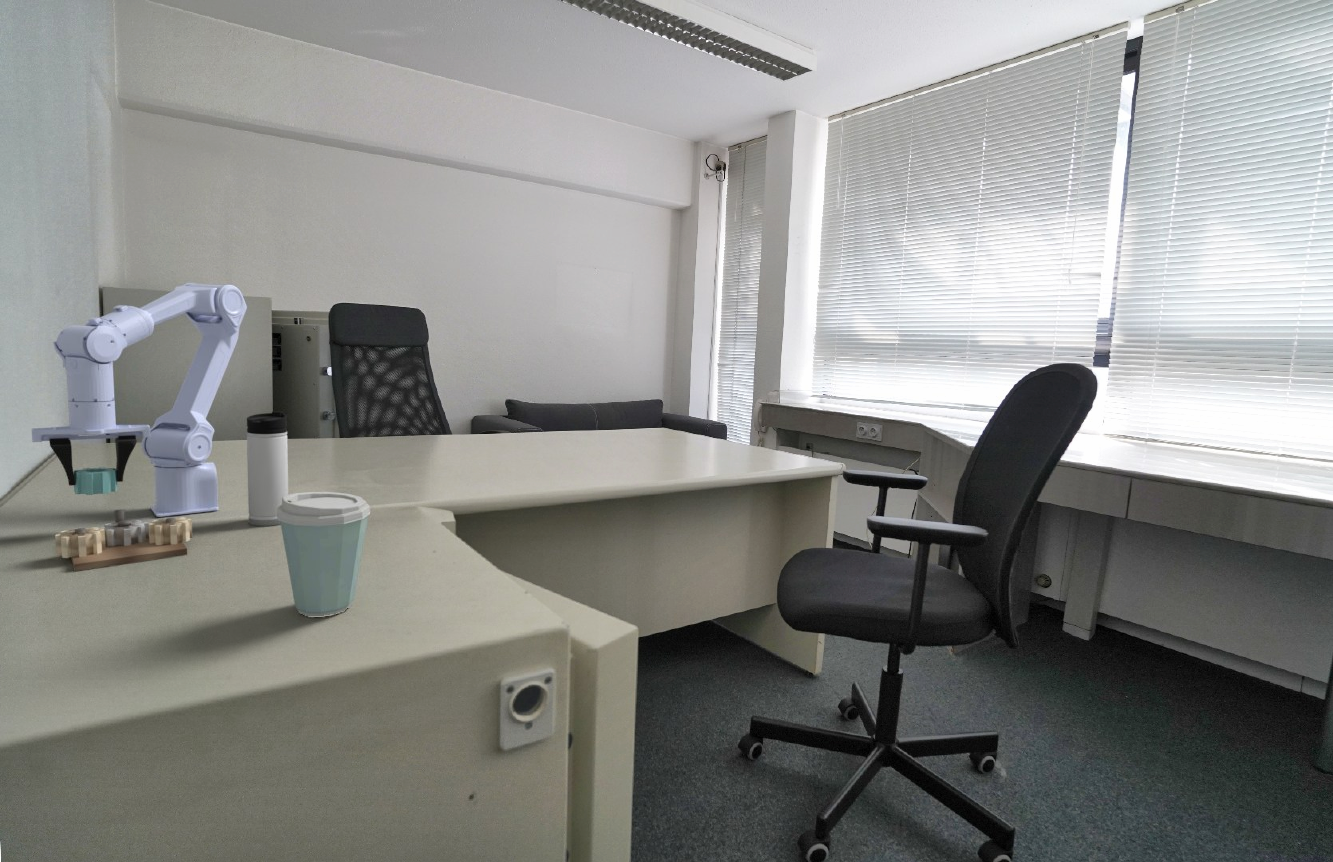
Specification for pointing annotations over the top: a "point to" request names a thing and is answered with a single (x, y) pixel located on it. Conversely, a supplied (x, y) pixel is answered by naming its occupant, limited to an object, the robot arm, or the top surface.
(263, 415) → the travel mug
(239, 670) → the top surface
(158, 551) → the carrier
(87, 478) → the teal gear
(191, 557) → the top surface
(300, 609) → the disposable coffee cup
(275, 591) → the top surface
